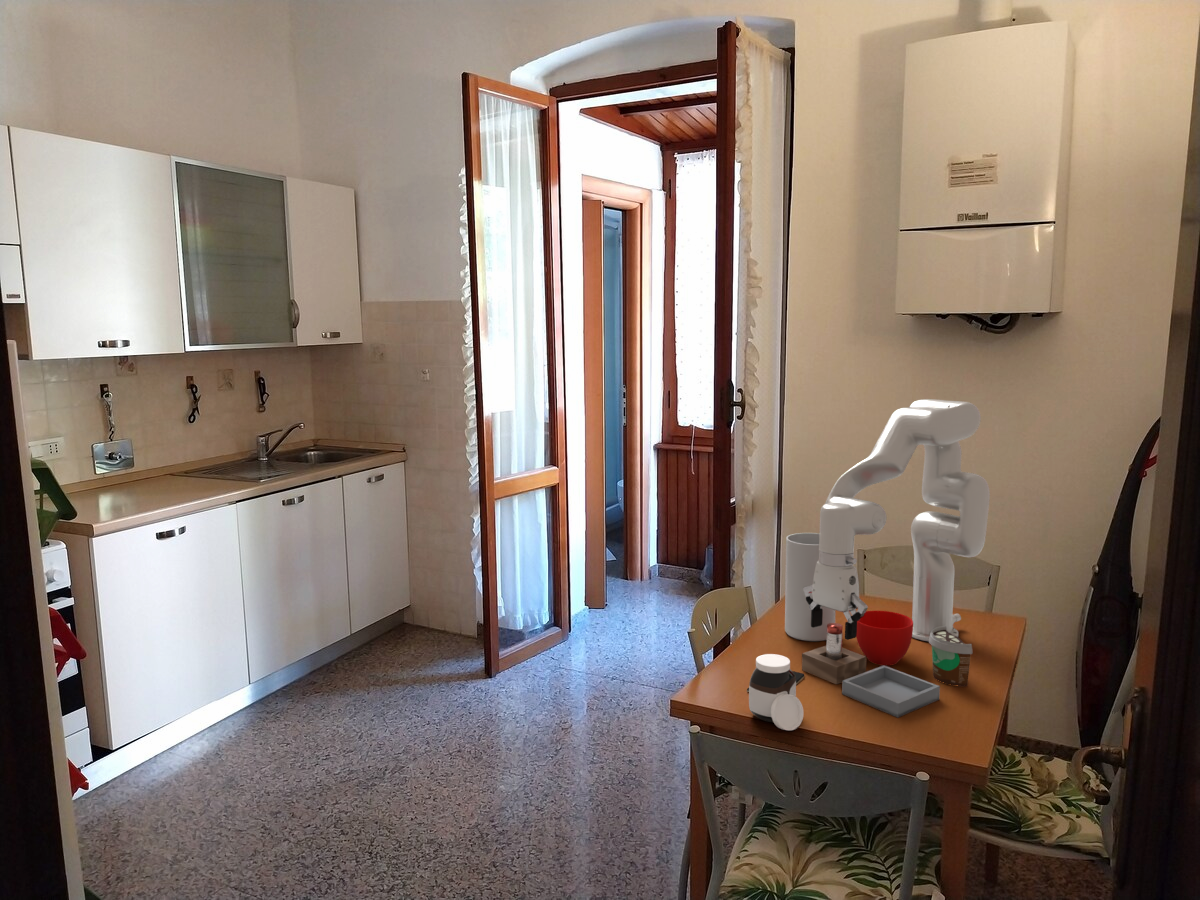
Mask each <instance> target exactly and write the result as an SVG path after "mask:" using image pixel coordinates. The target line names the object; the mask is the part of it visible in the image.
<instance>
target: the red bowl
mask: <svg viewBox="0 0 1200 900" xmlns="http://www.w3.org/2000/svg"><path fill="white" fill-rule="evenodd" d="M912 633H913V621H912V617H909V616H907V615H905V614H902V613H899V612H894V611H889V610H887V611H886V610H866V612H865V613H864V616H863V617H862V618H861V619H860V620H859V621H857V634H856V638H855V639H856V641H857V645H858V646H859V649H860V650H861V652H862V655H863V656H866V659H867V660H868V661H869V662H871V663H873V665H874V664H875V665H877V666H878V665H879V666H883V665H884V666H894V665H896V664H898V662H899V661H901V659H903V657H904V656H905V655H906V654H907V652H908V650H909V648H910V645H911V643H912V639H913V637H912Z"/></svg>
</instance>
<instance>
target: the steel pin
mask: <svg viewBox="0 0 1200 900" xmlns="http://www.w3.org/2000/svg"><path fill="white" fill-rule="evenodd" d="M843 630H844V629H843V625H842V624H841V623H837V622H835V623H829V624H827V640H826V645H827V650H826V657H827V658H830V659H832V660H835V661H836V660H839V659H842V648H843Z"/></svg>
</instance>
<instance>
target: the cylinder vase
mask: <svg viewBox="0 0 1200 900" xmlns="http://www.w3.org/2000/svg"><path fill="white" fill-rule="evenodd" d="M819 534H820V532H819V533H817V532H800V533H799V532H798V533H793V534H789V535H786V540H785V593H784V595H785V596H784V597H785V598H784V599H785V601H784V604H785V605H784V612H785V613H784V631H785V633H786V634H787V635H788V636H789V637H791V638H793V639H796V640H799V641H805V642H821V641H827V624H829V623H836V610H833V609H830V608H827V607H824V606H821V607H820V608H822V610H823V618H822V625H821V626H818V627H814V628H813V627H811V610H810V609H809V604H808V602H807V601H806V596H805V593H804V590H803V589H804V588H805V587H808V586H811V585H813V579H814V573H815V568H816V564H817V562H818V561H819Z"/></svg>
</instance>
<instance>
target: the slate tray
mask: <svg viewBox="0 0 1200 900" xmlns="http://www.w3.org/2000/svg"><path fill="white" fill-rule="evenodd" d="M841 684H842V685H841V687H842V688H841V689H842V691H841V694H842V695H843V696H845V697H847V698H850V699H853V700H856V701H857V702H860V703H862V704H865V705H867V706H869V707H871V708H874V709H876V710H879V711H880V712H883V713H886V714H888V715H890V716H893V717H895V718H897V719H898V718H901V717H903V716H904V715H907V714H909V713H912V712H914V711H917V710H918V709H922V708H923V707H925V706H928V705H931V704H932V703H936V702H937V701H940V692H941V691H940V690H941V686H940V685H938V684H935V683H932V682H929V681H927V680H924V679H921V678H919V677H916V676H914V675H912V674H911V675H910V674H908V673H906V672H903V671H900V670H897V669H895V668H892V667H890V666H888V665H880V666H879V667H875V668H873V669H870V670H866V672H865V673H862V674H859V675H857V676H854V677H851V678H848V679H846V680H843V681H842V683H841Z"/></svg>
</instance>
